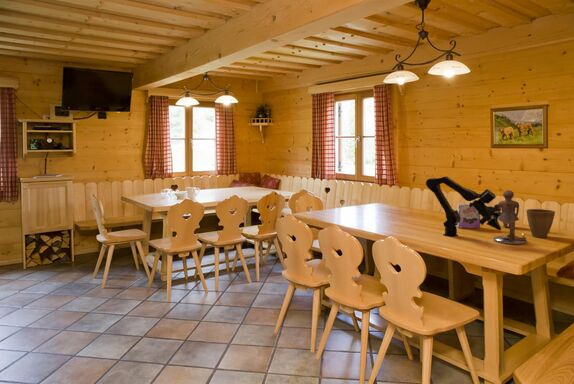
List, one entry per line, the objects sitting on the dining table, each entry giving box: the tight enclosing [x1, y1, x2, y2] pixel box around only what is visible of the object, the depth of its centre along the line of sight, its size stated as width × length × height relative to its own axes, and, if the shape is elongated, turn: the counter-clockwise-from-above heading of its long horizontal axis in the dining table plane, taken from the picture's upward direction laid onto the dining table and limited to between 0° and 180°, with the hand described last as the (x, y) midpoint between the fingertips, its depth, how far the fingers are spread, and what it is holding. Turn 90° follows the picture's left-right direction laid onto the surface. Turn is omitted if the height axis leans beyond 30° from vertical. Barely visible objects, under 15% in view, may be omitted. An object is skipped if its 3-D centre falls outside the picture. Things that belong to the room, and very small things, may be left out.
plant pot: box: [525, 208, 556, 239], centre depth 256 cm, size 15×15×16 cm
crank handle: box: [500, 221, 527, 241], centre depth 243 cm, size 12×13×11 cm
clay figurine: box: [497, 189, 520, 228], centre depth 285 cm, size 13×10×25 cm
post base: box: [493, 233, 528, 246], centre depth 246 cm, size 17×17×5 cm
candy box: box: [456, 202, 481, 230], centre depth 287 cm, size 14×6×16 cm, turn 81°
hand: (500, 229), depth 243 cm, fingers closed
